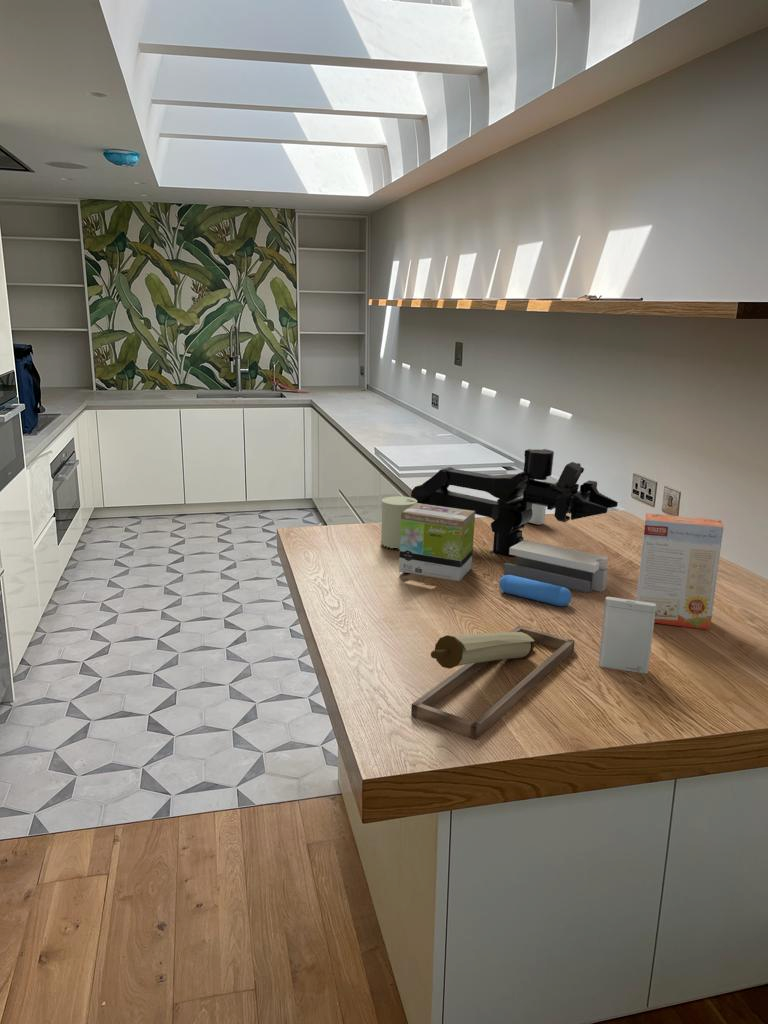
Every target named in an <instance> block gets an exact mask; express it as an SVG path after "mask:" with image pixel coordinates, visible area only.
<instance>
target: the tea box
mask: <svg viewBox="0 0 768 1024" xmlns="http://www.w3.org/2000/svg"><path fill="white" fill-rule="evenodd" d="M475 521H476V514H475V511H471V510H464V509H457V508H449V507H442V506H435V505H428V504H421V503H415V504H413V505H412V506H411V507H409V508H408V509H406V510H405V511H403V512H401V526H400V549H398V550H399V552H398V554H399V555H398V570H399V571H398V572H399V573H405V574H406V573H408V574H414V575H419V576H426V577H432V578H438V579H439V578H440V579H444V580H445V579H446V580H452V581H456V582H457V581H458V582H459V581H461V580H462V579H463V578H464V576H466V574H467V573H468V572H469V571H471V569H472V566H473V563H472V562H473V555H474V554H473V552H474V536H475V533H474V532H475Z"/></svg>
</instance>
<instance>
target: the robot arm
mask: <svg viewBox="0 0 768 1024" xmlns="http://www.w3.org/2000/svg"><path fill="white" fill-rule="evenodd" d="M554 455H555V452H554V451H553V450H551V449H547V448H543V449H532V448H531V449H530V448H528V449H525V450H524V463H523V471H521V472H519V473H515V474H514V473H513V474H512V473H511V474H510V473H508V474H507V473H506V474H497V475H496V474H494V475H493V474H486V473H480V472H475V471H468V470H464V469H463V470H462V469H458V468H453V467H452V466H449V467H445V468H442V469H440V470H438V471H437V472H436V473H435V474H434V475H432V476H431V477H430V478H428V480H426V481H425V482H423V483H422V484H418V485H416V486H414V487H412V490H411V491H410V492H411V493H410V497H411V498H414V499H416V500H417V503H421V504H428V505H435V506H442V507H449V508H457V509H464V510H471V511H475V515H477V516H481V517H486V518H490V519H492V520H493V521H492V522H491V523H490V528H491V531H492V533H493V542H492V543H493V546H492V547H493V548H492V550H490V551H489V553H490V554H495V555H500V556H504V557H509V558H515V557H516V556H514V555H510V554H509V550H510V547H512V546H514V545H516V544H517V543H519V542H521V541H523V540H525V539H524V536H523V529H524V528H525V526H526V524H527V523H529V522H528V521H530V519H531V518H532V515H533V513H532V504H537V505H541V506H546V510H549V511H552V510H553V509H554V515H553V516H554V518H555V519H556V520H557V521H558V522H562V523H566V522H569V521H570V520H571V521H574V520H578V519H583V518H588V517H592V516H597V515H603V514H607V513H608V509H610V508H616V507H618V501H616V500H614V499H613V498H611V497H608V496H606V495H604V494H602V493H601V492H600V491H599V490H598V481H596V480H591V479H590V480H587V481H585V482H583V483H582V484H578V481H579V479H580V477H581V474H583V473H584V471H585V468H584V467H582V466H581V463H579V462H578V463H577V462H574V461H571V462H569V463H567V464H566V465H565V466H564V467H563V470H562V472H561V473H560V476H559V478H558V481H556V482H555V483H554V482H553V483H552V482H547V481H546V480H548V478H547V477H551V476H552V473H553V464H554V463H553V462H554ZM535 479H536V480H535ZM537 480H538V481H537ZM450 486H455V487H460V488H465V489H471V490H476V491H481V492H485V493H487V494H489V495H491V496H492V497H494V498H497V499H496V500H495V499H493V500H492V499H489V498H482V497H478V496H474V495H469V494H464V493H461V492H455V491H451V490H449V489H448V488H449V487H450ZM522 495H523V498H518V497H521V496H522ZM567 514H570V515H567Z"/></svg>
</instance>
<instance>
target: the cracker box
mask: <svg viewBox="0 0 768 1024" xmlns="http://www.w3.org/2000/svg"><path fill="white" fill-rule="evenodd" d="M723 533H724V525H723V523H722V520H721V519H712V518H704V517H703V518H701V517H691V516H681V515H669V514H661V513H660V514H657V513H649V512H648V513H645V517H644V527H643V533H642V534H643V535H642V543H641V544H642V545H641V552H640V553H641V554H640V561H639V573H638V583H637V590H636V592H637V593H636V600H635V601H641V602H648V603H654V604H656V611H655V619H654V624H659V625H669V626H676V627H682V628H692V629H699V630H707V631H710V630H711V626H712V625H711V624H712V617H713V610H714V609H713V608H714V602H715V595H716V594H715V593H716V585H717V580H718V573H719V564H720V557H721V548H722V541H723V535H724V534H723Z"/></svg>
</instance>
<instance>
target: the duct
mask: <svg viewBox="0 0 768 1024" xmlns="http://www.w3.org/2000/svg"><path fill="white" fill-rule="evenodd" d="M608 570H609V568H606V569H605V570H597V571H596V572H595V573H594V572H589V571H584V570H580V569H575V568H570V567H566V566H561V565H556V564H552V563H547V562H542V561H538V560H533V559H528V558H524V557H519V556H516V564H515V563H509V562H505V563H504V569H503V575H513V576H518V577H522V578H526V579H531V580H535V581H539V582H544V583H548V584H552V585H557V586H561V587H565V588H567V589H568V590H572V591H574V592H575V591H576V592H580V593H585V594H589V593H590V592H591V591H596V592H600V593H602V592H604V591H605V590H606V589H607V582H608V581H607V579H608Z"/></svg>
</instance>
